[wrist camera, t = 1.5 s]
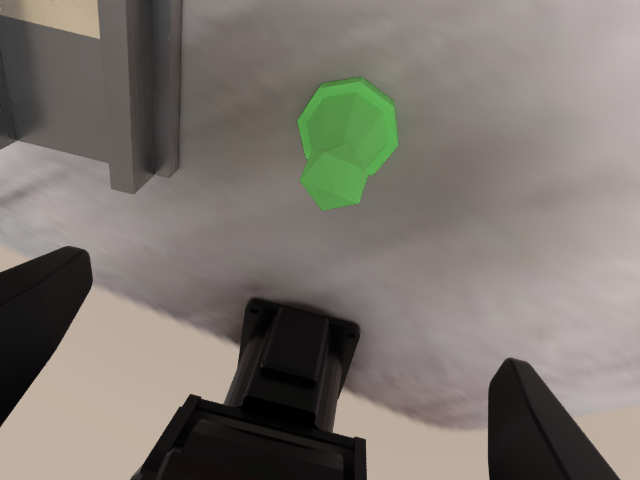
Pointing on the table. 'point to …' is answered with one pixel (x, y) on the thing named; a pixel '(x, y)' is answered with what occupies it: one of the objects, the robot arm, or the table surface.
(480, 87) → the table surface
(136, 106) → the track
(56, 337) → the robot arm
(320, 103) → the game piece
